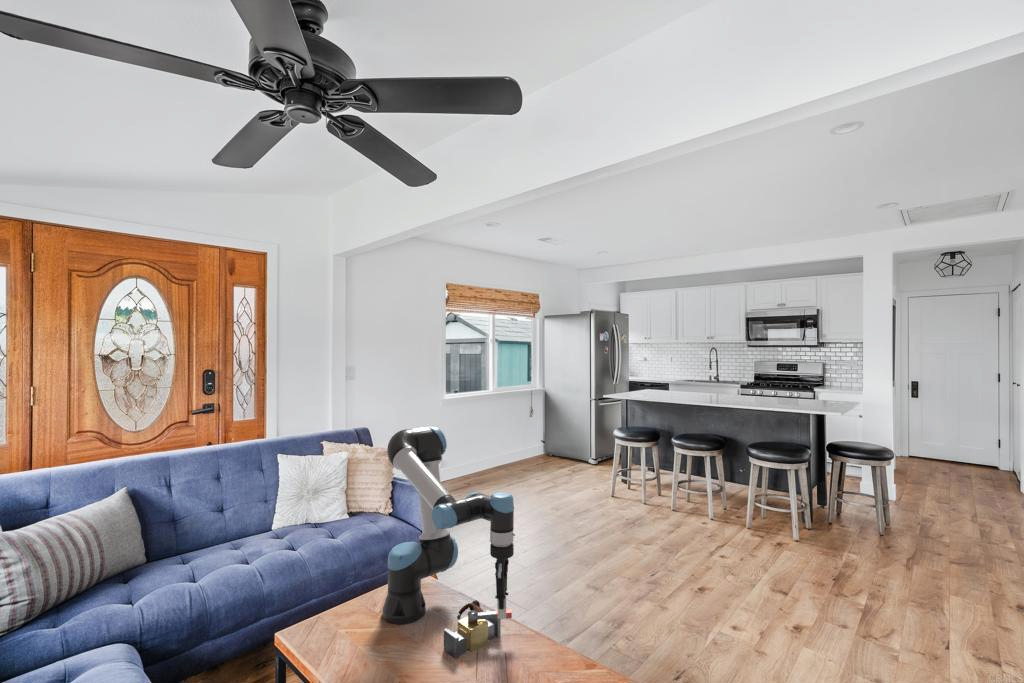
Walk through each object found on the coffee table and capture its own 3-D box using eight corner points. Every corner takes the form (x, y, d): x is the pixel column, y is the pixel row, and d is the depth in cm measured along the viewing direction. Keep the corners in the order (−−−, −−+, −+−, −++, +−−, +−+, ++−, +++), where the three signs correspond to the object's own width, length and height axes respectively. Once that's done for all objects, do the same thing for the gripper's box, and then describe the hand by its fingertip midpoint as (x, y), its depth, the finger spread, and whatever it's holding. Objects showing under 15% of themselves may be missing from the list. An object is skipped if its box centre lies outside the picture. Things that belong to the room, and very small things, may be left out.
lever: (468, 623, 157) (468, 616, 157) (467, 618, 160) (467, 610, 160) (512, 619, 160) (512, 612, 160) (510, 614, 163) (510, 607, 163)
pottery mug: (488, 635, 165) (476, 616, 163) (463, 645, 166) (451, 626, 164) (491, 607, 176) (480, 589, 175) (468, 617, 178) (457, 599, 176)
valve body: (443, 649, 156) (443, 627, 156) (487, 628, 168) (487, 607, 168) (456, 660, 150) (456, 636, 150) (501, 637, 162) (501, 615, 163)
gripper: (511, 550, 153) (511, 628, 152) (515, 536, 166) (515, 608, 165) (487, 549, 154) (487, 627, 153) (493, 535, 166) (493, 607, 165)
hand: (501, 617), depth 159 cm, fingers closed
